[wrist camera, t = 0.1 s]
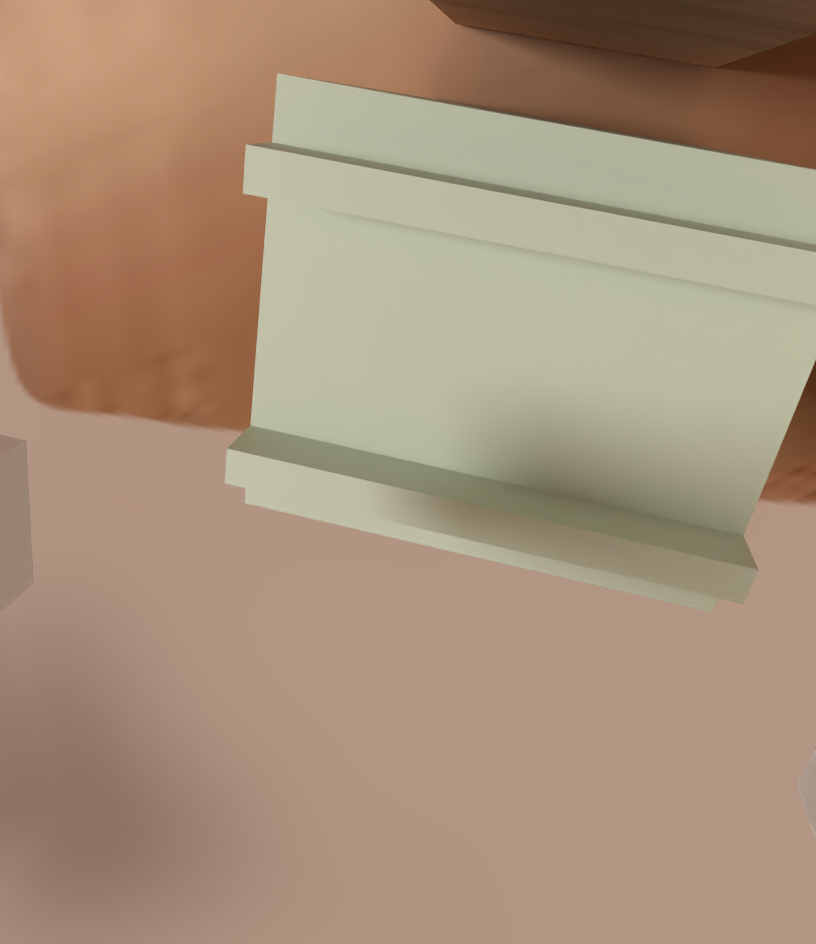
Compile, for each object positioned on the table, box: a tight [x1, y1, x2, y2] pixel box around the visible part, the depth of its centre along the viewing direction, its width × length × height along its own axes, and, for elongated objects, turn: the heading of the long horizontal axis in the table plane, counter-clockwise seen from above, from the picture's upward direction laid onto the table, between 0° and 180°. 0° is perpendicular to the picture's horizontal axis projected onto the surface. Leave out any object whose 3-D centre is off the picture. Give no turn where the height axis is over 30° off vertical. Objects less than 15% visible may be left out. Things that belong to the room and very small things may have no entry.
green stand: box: [225, 73, 816, 612], centre depth 26 cm, size 10×12×22 cm
